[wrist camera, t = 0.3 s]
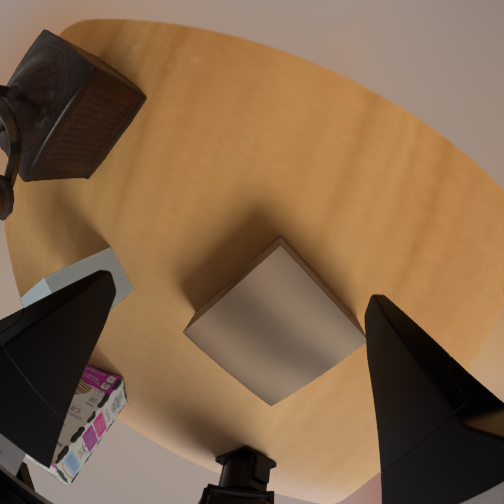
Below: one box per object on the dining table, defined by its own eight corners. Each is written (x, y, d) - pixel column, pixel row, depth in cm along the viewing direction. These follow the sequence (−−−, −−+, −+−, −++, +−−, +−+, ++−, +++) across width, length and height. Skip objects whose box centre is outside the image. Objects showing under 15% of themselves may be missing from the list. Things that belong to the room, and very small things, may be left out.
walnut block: (272, 381, 28) (270, 406, 24) (195, 312, 27) (182, 332, 23) (357, 319, 25) (368, 340, 21) (280, 235, 24) (280, 245, 20)
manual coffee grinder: (43, 133, 24) (-82, 129, 6) (96, 54, 21) (-23, -1, 4) (116, 218, 25) (-43, 272, 8) (187, 127, 23) (30, 55, 5)
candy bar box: (123, 374, 30) (55, 466, 14) (128, 401, 31) (72, 488, 15) (59, 349, 31) (-13, 414, 15) (67, 376, 32) (5, 441, 16)
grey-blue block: (134, 289, 27) (77, 336, 17) (104, 305, 28) (48, 349, 18) (111, 246, 26) (43, 277, 16) (82, 266, 27) (19, 299, 17)
